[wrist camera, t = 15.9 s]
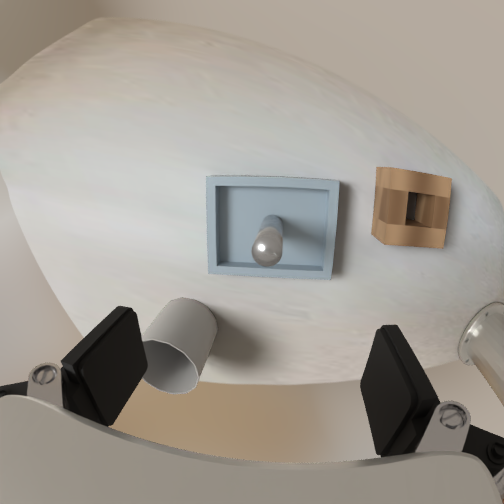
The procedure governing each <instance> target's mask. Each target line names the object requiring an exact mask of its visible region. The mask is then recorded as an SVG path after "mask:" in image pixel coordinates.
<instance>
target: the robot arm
mask: <svg viewBox="0 0 504 504" xmlns="http://www.w3.org/2000/svg"><path fill="white" fill-rule="evenodd" d="M458 354H459V358H460V359H461V361H462V362H463V363H464V364H466V365H476V366H477V368H478V369H479V370H480V372H481V373H482V375H483V376H484V378H485V379H486V380H487V382H488V383H489V385H490V386H491V388H492V389H493V391H494V392H495V393H496V395H497V397H498V398H499V400H500V401H501V403H502V404H503V406H504V305H503V304H502V303H492V304H490V305H488V306H486V307H485V308H483V309H482V310H481V311H480V312H479V313H478V314H477V315H476V316H475V317H474V318H473V319H472V321H471V322H470V323H469V325H468V326H467V328H466V330H465V331H464V333H463V336H462V338H461V340H460V344H459V349H458ZM61 363H62V365H63V367H62V368H61V369H60V368H59V366H58V365H56V364H54V363H43V364H40V365H38V366H36V367H35V368H34V369H33V370H32V371H31V372H30V374H29V379H28V381H25V382H20V383H15V384H10V385H4V386H0V504H504V438H503V437H500V436H498V435H495V434H493V433H490V432H488V431H485V430H483V429H480V428H478V427H475V426H473V425H471V424H470V421H471V416H470V413H469V411H468V410H467V408H466V407H464V405H462V404H460V403H458V402H455V401H445V402H442V403H440V401H439V399H438V396H437V395H436V392H435V390H434V389H433V387H432V385H431V383H430V381H429V379H428V377H427V375H426V374H425V372H424V370H423V368H422V366H421V365H420V363H419V361H418V359H417V357H416V356H415V354H414V352H413V351H412V349H411V347H410V345H409V344H408V342H407V340H406V339H405V337H404V335H403V334H402V332H401V330H400V329H399V327H398V326H397V325H383V326H382V327H381V329H377V331H376V334H375V338H374V341H373V345H372V348H371V351H370V355H369V358H368V361H367V364H366V367H365V370H364V373H363V376H362V379H361V383H360V384H361V385H360V388H361V392H362V396H363V400H364V403H365V408H366V412H367V416H368V420H369V424H370V428H371V433H372V437H373V441H374V446H375V450H376V454H377V455H381V458H374V459H366V460H357V461H343V462H326V463H279V462H263V461H251V460H241V459H233V458H226V457H219V456H213V455H206V454H201V453H196V452H191V451H186V450H182V449H178V448H174V447H169V446H166V445H162V444H158V443H155V442H151V441H148V440H144V439H141V438H138V437H135V436H132V435H129V434H126V433H123V432H120V431H117V430H114V429H112V428H109V427H108V426H111V425H113V423H114V422H115V420H116V419H117V417H118V415H119V414H120V412H121V410H122V409H123V407H124V406H125V404H126V402H127V401H128V399H129V398H130V396H131V395H132V393H133V391H134V390H135V388H136V386H137V385H138V383H139V382H140V380H141V379H142V377H143V376H144V374H145V372H146V371H147V368H148V362H147V358H146V354H145V350H144V346H143V341H142V337H141V332H140V328H139V323H138V318H137V314H136V312H134V311H133V309H132V308H129V307H123V306H118V307H116V308H115V309H114V310H113V311H112V312H111V313H110V314H109V315H108V316H107V317H106V318H105V319H103V320H102V321H101V322H100V323H99V324H98V325H97V326H96V327H95V328H94V329H93V330H92V331H91V332H90V333H89V334H88V335H87V336H86V337H85V338H83V339H82V340H81V341H80V342H79V343H78V344H77V345H76V346H75V347H74V348H73V349H72V350H71V351H70V352H69V353H68V354H67V355H66V356H65V357H64V358H63V359H62V360H61Z"/></svg>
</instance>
